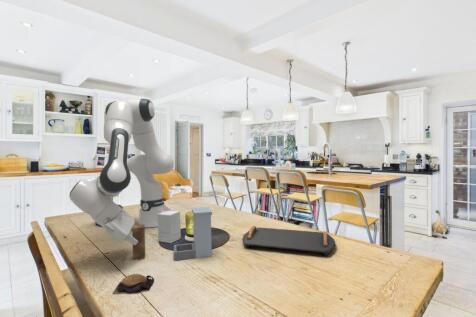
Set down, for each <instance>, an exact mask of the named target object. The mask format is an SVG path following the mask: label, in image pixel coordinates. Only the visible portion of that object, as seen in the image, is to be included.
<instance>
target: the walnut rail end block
mask: <svg viewBox="0 0 476 317" xmlns="http://www.w3.org/2000/svg"><path fill="white" fill-rule="evenodd" d="M145 229H146V227H145V224H144V225H139V224H134V226H133V228H132V231H131V236H132V237H134V238H136V239H137V240H138V243H137V244H136V245H133V244H132V260H133V261H137V260H138V261H139V260H145V258H146V230H145Z"/></svg>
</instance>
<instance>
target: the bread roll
mask: <svg viewBox="0 0 476 317" xmlns="http://www.w3.org/2000/svg"><path fill="white" fill-rule="evenodd" d="M154 283H155V278H154V277H153V276H151V275H150V274H147V275H146V276H144V275H143V274H139V273H133V274H129V275H127V276H126V277H124V278H123V279H122V280H120V281H119V282H118V284H117V285H116V287H115V288H114V290H113V291H112V295H128V294H129V295H130V294H138V293H146V292H150V291H151V289H152V286H153V285H154Z"/></svg>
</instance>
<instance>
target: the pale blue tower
mask: <svg viewBox="0 0 476 317" xmlns="http://www.w3.org/2000/svg"><path fill="white" fill-rule="evenodd" d="M191 211H192V214H193V215H192V218H193V219H192V220H193V242H190V243H182V244H181V243H179V244H173V262H175V261H176V262H177V261H182V260H191V259H192V260H193V259H199V258H200V259H201V258H209V257H213V256H212V255H213V254H212V253H213V252H212V215H213V211H212V209H211V208H210V206H206V207H205V206H204V207H192V208H191Z"/></svg>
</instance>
